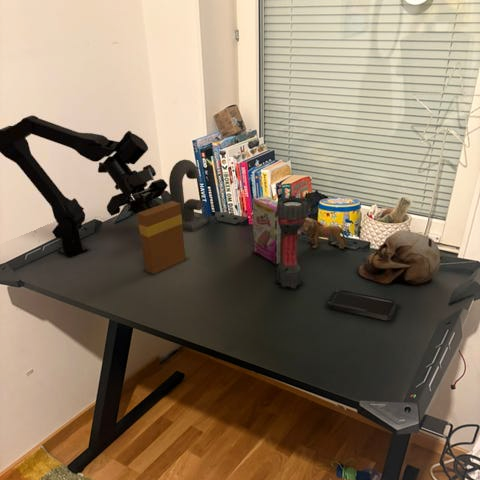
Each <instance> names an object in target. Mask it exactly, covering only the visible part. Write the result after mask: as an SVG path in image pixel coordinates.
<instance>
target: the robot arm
mask: <svg viewBox="0 0 480 480" xmlns="http://www.w3.org/2000/svg"><path fill="white" fill-rule="evenodd" d="M31 135H33V136H36V137H39V138H42V139H45V140H48V141H50V142H53V143H56V144H59V145H62V146H64V147H68V148H70V149H72V150H74V151H76V153H78V154H79V155H80V157H81V156H82V157H83V158H85V159H87V160H89V161H91V162H95V163H97V162H98V168H97V173H99V174H106V173H107V174H108V175H109V177H110V178H111V180H112V181H113V182H114V184H115V185H114V188H115V190H116V191H118V190H119V191H120V193H117V194H115V195H112V196H111V198H110V200H109V201H108V203H107V205H106V211H107V212H108V214H109V215H110V216H111V217H112V216H115V215H118V214H120V212H121V207H123V206H126V205H127V206H128V207H129V208H128V209H127V211H128V212H129V213H134V214H135V215H138V214H137V213H139V212H142V211H145V210H147V209H150V208H153V207H155V206H154V202H153V201H154V200H155V199H158V198H161V195H162V193H163V192H164V191H166V189H167V188H168V187H169V184H168V183H167V182H166V181H165V179H163V178H162V179H161V178H159V179H156V180H155V178H154V177H155V176H157V171H156V170H155V168H154V167H153V166H152V165H151V164H148V165H145V166H143V167H142V170H138V171H137V170H135V169H134V170H132V169H131V167H130V166H129V165H135V164H136V163H137V162H138V161H139V160H140V159H141V158H142V157H143V156H144V155H145V154H146V153H147V151H149V146H148V144H147V142H146V141H145V140H144V139H143V138H142V137H140V136H139V135H137V134H135V133H133V132H132V131H131V130H128V131H126V132H125V133H124V135H123V137H122V138H121V140H119V141H117V140H113V139H112V140H111V139H108V137H107V136H105V135H103V134H98V133H91V132H79V131H76V130H73V129H70V128H68V127H64V126H62V125H59V124H57V123H53V122H52V121H51V122H50V121H47V120H45V119H42V118H39V117H38V116H36V115H28V116H26V117H23V118H21V120H20V121H18V122H17V123H15V124H13V125H7V126H5V127H2V128H0V154H1V155H2V156H4V158H6V159H8V160H9V161H12V162H14V163H15V164H16V165H17V166H18V167H19V168H20V169H21V171H22V172H23V174H24V175H25V176H26V177H27V179H28V180H29V181H30V182H31V184H32V185H33V186H34V187H35V188H36V189H37V191H38V192H39V193H40V195H41V196H42V197H43V198H44V200H45V201H46V202H47V203H48V204H49V206H50V207H51V211H52V215H53V218H54V219H55V222H56V223H57V225H56V226H55V227H54V228H53V230H52V231H51V232H52V234H53V236H54V238H55V239H59V240H60V243H61V247H62V248H61V249H58V252H59V253H60V254H62V255H64V256H66V257H68V258H72V257H74V256H76V255H79V254H82V253H85V252H88V250H89V249H88V248H87V247H85V246H83V244H82V240H81V235H80V229H81V228H82V226H83V223H85V220H86V213H85V211H84V210H85V208H84V207H82V206H81V204H80V203H79V201H78V199H77V198H75V197H74V198H72V199H69V198H68V197H66V195H64V193H63V192H62V191H61V190H60V188H59V187H58V186H57V184H56V183H55V182H54V181H53V180H52V178H51V177H50V176H49V174H48V173H47V172H46V170H45V169H44V167H42V166H41V164H40V163H39V162H38V160H37V159H36V157H34V155H33V154H32V152H31V148H30V146H29V145H30V144H29V142H28V140H27V138H28V137H29V136H31ZM112 154H113V155H112ZM104 158H106V159H105V160H104V161H103V162H101V161H102V160H103V159H104ZM99 161H100V162H99ZM150 181H151V183H150V185H149V186H148V184H149V183H148V182H150ZM147 186H148V187H147ZM146 187H147V188H146Z"/></svg>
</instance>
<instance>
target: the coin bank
mask: <svg viewBox="0 0 480 480" xmlns="http://www.w3.org/2000/svg"><path fill="white" fill-rule="evenodd" d="M440 267H441V251H440V248H439V246H438V244H437V243H436V242H435V241H434V239H432V238H431V237H429V236H427V235H425V234H422V233H418V232H415V231H411V230H405V229H400V230H397V231H395V232H393V233H392V234H389V236H387V237H386V239H385V240H384V241H383V243H382V244H379V248H378V249H377V250H376V251H375V252H373V253H371V254H370V255H369V256H368V257H367V258H366V260H365V263H364V264H362V265H360V266H359V268H358V274H359V275H360V276H361V277H362V278H365V279H367V280H370V281H373V282H374V283H375V282H376V283H379V284H381V285H383V286H384V285H385V286H386V285H390V283H392V282H393V281H397V282H406V283H408V284H410V285H412V286H414V285H415V286H416V285H419V284H423V283H426V282H428V281H430V280H431V279H432V278H434V277H435V276H436V275H437V274H438V272H439V269H440Z"/></svg>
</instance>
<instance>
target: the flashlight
mask: <svg viewBox="0 0 480 480" xmlns="http://www.w3.org/2000/svg"><path fill="white" fill-rule="evenodd" d="M277 201H278V202H277V216H278V224H279V227H280V229H281V236H280V264H278V265H277V266H276V267H277V268H276V269H277V277H276V278H277V279H276V280H277V283H278V284H280V286H281V287H282V288H284V289H285V288H291V290H293V289H297V286H300V285H301V279H302V278H301V277H302V276H301V275H302V268H301V267H300V265H299V264H298V262H297V244H298V241H297V240H298V233H299V230H301V227H302V225H303V224H304V222H305V219H306V218H308V214H309V204H308V199H307V198H305V197H304V196H303V197H301V198H300V197H296V195H293V194H292V195H288V197H284V198H283V197H279V198H278V199H277Z"/></svg>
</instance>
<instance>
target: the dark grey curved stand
mask: <svg viewBox="0 0 480 480" xmlns="http://www.w3.org/2000/svg"><path fill="white" fill-rule="evenodd" d="M185 176H186V178H187V179H189V180H196V179H199V178H200V172H199V168H198V166H197V165H196V164H195V163H194V162H193V161H192V160H191V159H181V160H179V161H177V162H176V163H175V164H174V165H173V166H172V168H171V170H170V174H169V176H168V177H169V178H168V187H169V191H168V190H164V192H163V193H162V195H161V196H160V198H161V200H162V202H163V203H162V204H164V203H167V202H170V201H174V202H177V203H180V207H181V215H182V228H183V231H190V232H194V231H196V230H197V229H198V230H199V228H201V227H203V226H205V225H207V224H208V219H207V218H204V217H200V216H196V215H195V211H201V210H202V209H203V207H204V203H203V201H202V200H201V199H195V198H190V199H187V200H185V193H184V185H183V181H184V177H185Z"/></svg>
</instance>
